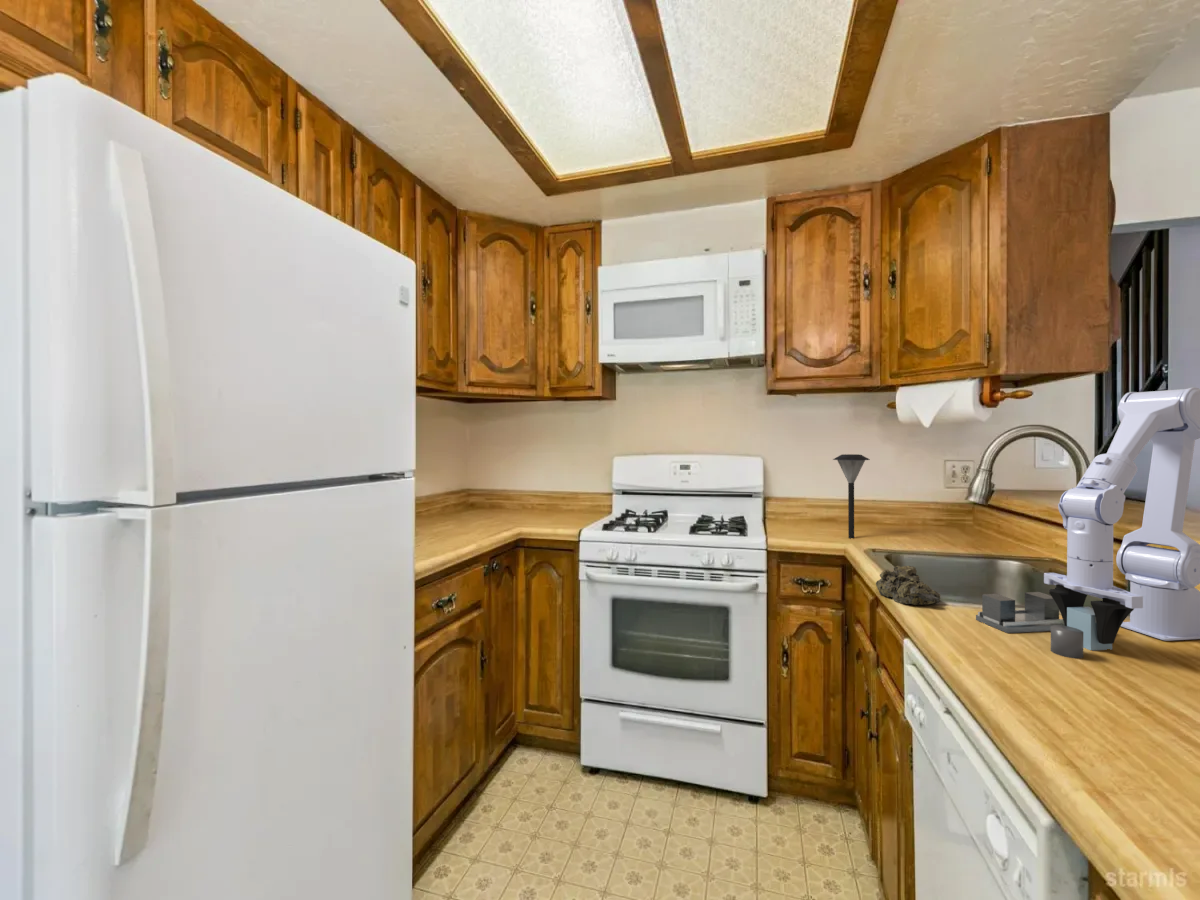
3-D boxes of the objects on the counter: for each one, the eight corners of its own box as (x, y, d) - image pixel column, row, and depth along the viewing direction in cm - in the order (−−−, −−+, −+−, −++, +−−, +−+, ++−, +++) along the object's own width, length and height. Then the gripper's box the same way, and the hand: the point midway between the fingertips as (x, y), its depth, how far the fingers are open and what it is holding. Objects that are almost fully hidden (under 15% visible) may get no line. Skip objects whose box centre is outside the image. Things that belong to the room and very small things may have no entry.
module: (1087, 640, 90) (1087, 606, 90) (1112, 649, 86) (1112, 614, 86) (1066, 641, 90) (1066, 607, 90) (1091, 650, 86) (1091, 615, 86)
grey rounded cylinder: (1065, 647, 87) (1065, 624, 87) (1090, 657, 83) (1090, 633, 83) (1044, 649, 87) (1044, 625, 86) (1067, 659, 83) (1068, 634, 83)
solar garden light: (831, 534, 191) (831, 454, 191) (867, 535, 187) (867, 454, 186) (834, 540, 180) (833, 455, 179) (873, 542, 176) (872, 455, 175)
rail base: (1031, 617, 102) (1031, 589, 102) (1067, 630, 95) (1067, 600, 95) (975, 619, 101) (975, 592, 100) (1007, 633, 94) (1007, 603, 93)
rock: (893, 588, 124) (862, 572, 122) (927, 562, 119) (894, 545, 117) (919, 633, 113) (885, 617, 111) (957, 607, 108) (922, 589, 106)
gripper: (1028, 549, 94) (1028, 622, 95) (1115, 569, 80) (1114, 655, 80) (1063, 548, 95) (1063, 621, 95) (1155, 568, 81) (1154, 653, 81)
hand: (1089, 636), depth 88 cm, fingers open, 5 cm apart
